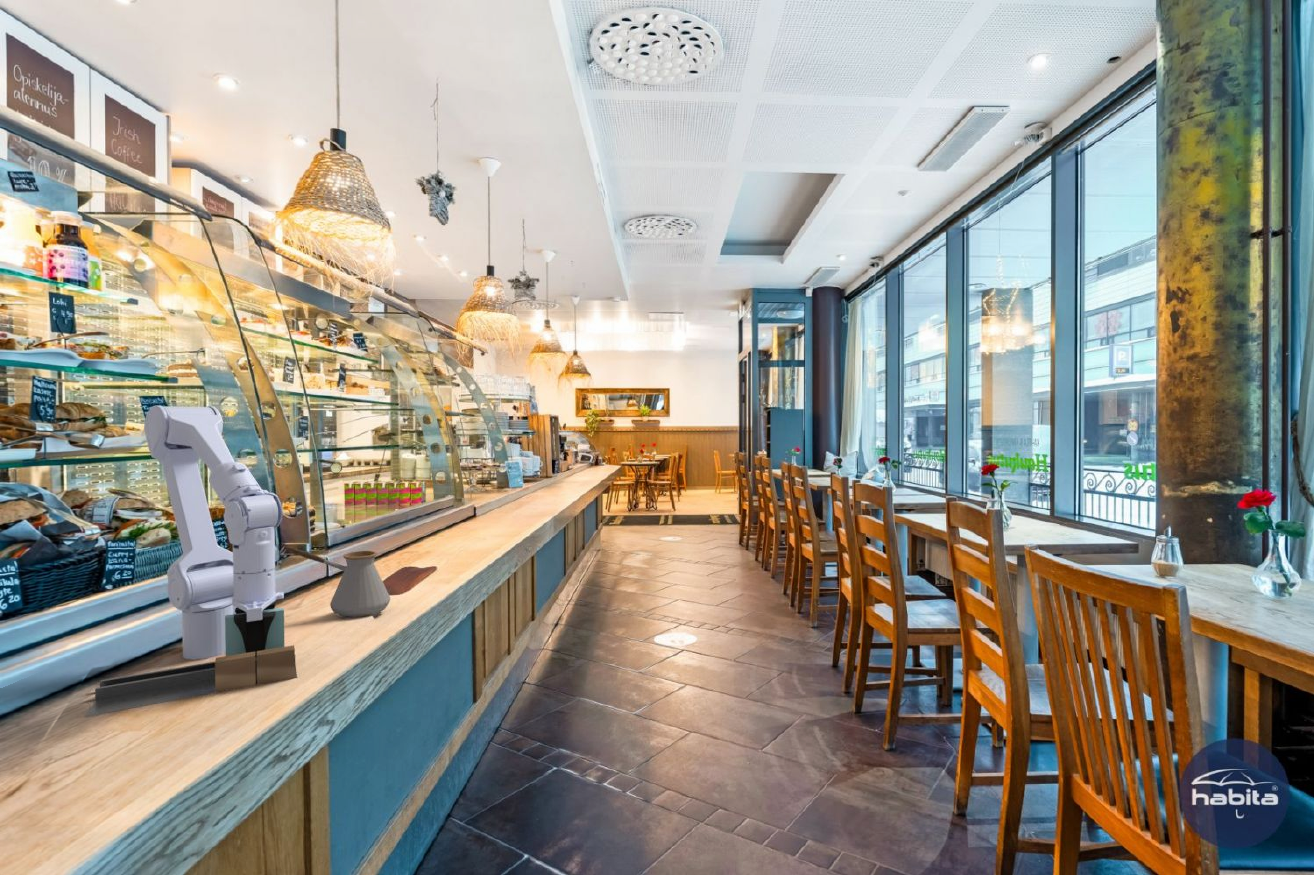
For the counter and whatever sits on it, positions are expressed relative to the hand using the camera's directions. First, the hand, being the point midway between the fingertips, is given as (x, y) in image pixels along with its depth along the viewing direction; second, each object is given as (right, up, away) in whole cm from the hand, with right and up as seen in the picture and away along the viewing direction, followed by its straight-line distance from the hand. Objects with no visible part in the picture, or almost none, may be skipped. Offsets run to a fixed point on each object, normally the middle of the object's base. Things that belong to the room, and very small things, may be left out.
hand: (255, 652), depth 103 cm
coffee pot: (-2, -3, +30) cm, 30 cm away
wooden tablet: (+1, -2, +58) cm, 58 cm away
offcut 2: (+6, -3, -4) cm, 8 cm away
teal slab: (0, -2, 0) cm, 2 cm away
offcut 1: (+1, -3, -7) cm, 8 cm away
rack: (-5, -4, -5) cm, 8 cm away
